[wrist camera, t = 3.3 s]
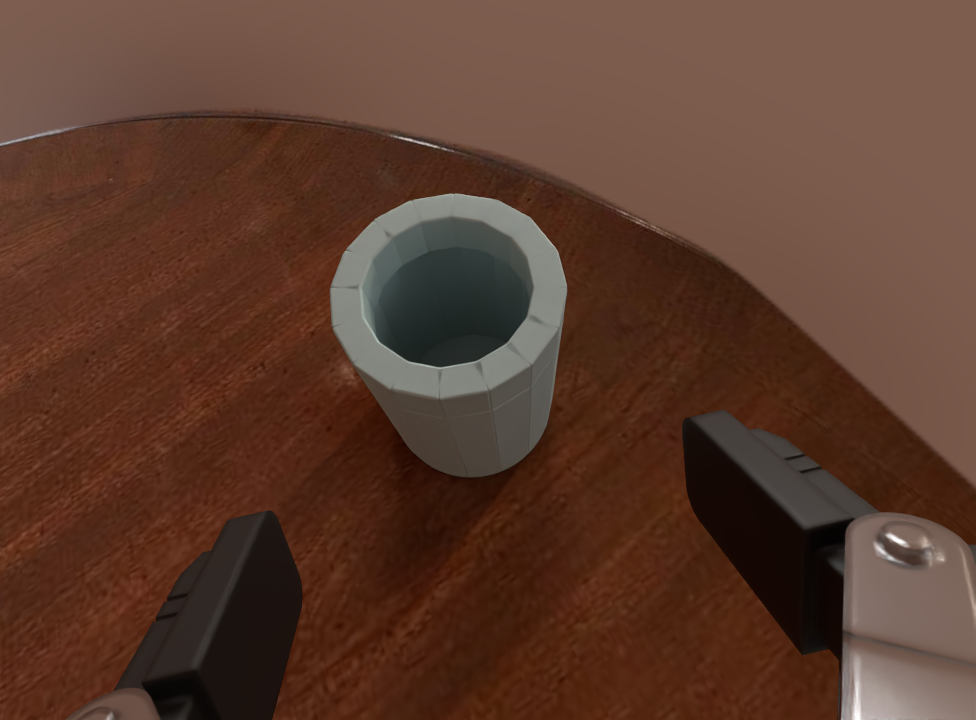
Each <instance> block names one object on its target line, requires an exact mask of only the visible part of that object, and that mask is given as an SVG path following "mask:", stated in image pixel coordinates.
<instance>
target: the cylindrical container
mask: <svg viewBox="0 0 976 720" xmlns="http://www.w3.org/2000/svg"><path fill="white" fill-rule="evenodd" d="M566 295H567V284H566V280H565V276H564V273H563V269H562V265H561V261H560V257H559V254H558V251H557V250H556V248H555V247H554V245H553V244H552V243H551V242H550V241H549V239H548V238H547V237H546V236H545V235H544V233H543V232H542V231H541V230H540V229H539V227H538V226H537V225H536V224H535V223H534V221H533V220H531V218H530V217H528V216H526V215H524V214H523V213H521V212H519V211H517V210H515V209H513V208H511V207H509V206H507V205H506V204H504V203H502V202H500V201H498V200H494V199H489V198H482V197H475V196H468V195H462V194H454V195H453V194H446V195H440V196H435V197H429V198H423V199H417V200H413V201H409V202H407V203H405V204H403V205H401V206H399V207H397V208H395V209H393V210H391V211H389V212H387V213H386V214H384V215H382V216H380V217H378V218H376V219H374V222H371V224H370V225H369V226H368V227H367V228H366V229H365V230H364V231H363V232H362V233H361V234H360V235H359V236H358V237H357V238H356V239H355V240H354V241H353V243H352V244H351V245H350V246H349V247H348V248H347V250H346V251H345V252H344V254H343V256H342V259H341V261H340V264H339V266H338V269H337V271H336V274H335V276H334V279H333V281H332V284H331V289H330V304H331V322H332V328H333V332H334V334H335V335H336V337H337V339H338V341H339V342H340V344H341V346H342V348H343V349H344V351H345V353H346V355H347V356H348V358H349V360H350V362H351V363H352V365H353V366H354V368H355V369H356V371H357V372H358V374H359V375H360V377H361V378H362V380H363V381H364V383H365V384H366V386H367V387H368V388H369V390H370V391H371V393H372V394H373V396H374V397H375V399H376V400H377V402H378V403H379V405H380V406H381V408H382V409H383V411H384V412H385V413H386V415H387V416H388V418H389V419H390V421H391V422H392V424H393V425H394V427H395V428H396V430H397V431H398V433H399V434H400V436H401V437H402V438H403V440H404V441H405V443H406V444H407V446H408V447H409V449H410V450H411V451H412V452H413V453H414V454H416V455H417V456H418V457H419V458H420V459H421V460H422V461H424V462H425V463H426V464H428V465H429V466H431V467H433V468H434V469H437V470H439V471H441V472H443V473H447V474H450V475H453V476H460V477H482V476H488V475H492V474H496V473H498V472H501V471H504V470H506V469H508V468H510V467H511V466H513V465H515V464H516V463H518V462H519V461H521V460H522V459H523V458H524V457H525V456H526V455H527V454H528V453H530V452H531V450H532V449H533V448H534V447H535V445H536V444H537V443H538V441H539V439H540V438H541V436H542V434H543V432H544V430H545V428H546V426H547V422H548V417H549V412H550V407H551V402H552V396H553V388H554V381H555V374H556V367H557V360H558V353H559V345H560V338H561V331H562V324H563V317H564V309H565V302H566Z"/></svg>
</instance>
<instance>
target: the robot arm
mask: <svg viewBox="0 0 976 720" xmlns="http://www.w3.org/2000/svg"><path fill="white" fill-rule="evenodd" d="M682 434H683V448H684V461H685V475H686V487H687V493H688V497H689V500H690V503H691V506H692V508H693V511H694V513H695V514H696V516H697V518H698V519H699V521H700V522H701V523H702V525H703V526H704V527H705V528H706V530H707V531H708V532H709V534H710V535H711V536H712V538H713V539H714V540H715V542H716V543H717V544H718V546H719V547H720V548H721V549H722V551H723V552H724V553H725V555H726V556H727V557H728V559H729V560H730V561H731V563H732V564H733V565H734V566H735V568H736V569H737V570H738V572H739V573H740V574H741V576H742V577H743V578H744V580H745V581H746V582H747V584H748V585H749V586H750V587H751V589H752V590H753V591H754V593H755V594H756V595H757V597H758V598H759V599H760V601H761V602H762V603H763V604H764V606H765V607H766V608H767V610H768V611H769V612H770V614H771V615H772V616H773V618H774V619H775V620H776V622H777V623H778V624H779V625H780V627H781V628H782V629H783V631H784V632H785V633H786V635H787V636H788V637H789V639H790V640H791V641H792V642H793V644H794V645H795V646H796V648H797V649H798V650H799V652H800V653H801V654H802V655H806V654H810V653H814V652H818V651H822V650H826V649H830V650H831V651H832V653H833V654H834V655H835V656H836V657H837V659H838V660H839V682H838V712H837V720H976V545H967V544H966V543H965V542H964V541H963V540H962V539H961V538H960V537H959V536H957V535H956V534H955V533H953V532H952V531H950V530H948V529H947V528H945V527H943V526H941V525H939V524H937V523H935V522H932V521H929V520H927V519H924V518H920V517H916V516H912V515H907V514H901V513H880V512H879V511H878V510H876V509H875V508H874V507H872V506H871V505H870V504H869V503H867V502H866V501H865V500H863V499H862V498H861V497H860V496H858V495H857V494H856V493H854V492H853V491H852V490H851V489H849V488H848V487H847V486H845V485H844V484H843V483H842V482H840V481H839V480H838V479H836V478H835V477H834V476H833V475H831V474H830V473H829V472H827V471H826V470H822V469H821V466H820V465H818V464H817V463H816V462H814V461H813V460H812V459H811V458H809V457H805V454H804V453H803V452H802V451H800V450H799V449H798V448H796V447H795V446H794V445H793V444H791V443H790V442H789V441H787V440H786V439H785V438H782V437H779V436H777V435H774V434H772V433H769V432H766V431H764V430H761V429H759V428H758V429H753V430H749V429H748V428H746V427H745V426H744V425H743V424H742V423H740V422H739V421H738V420H737V419H736V418H734V417H733V416H732V415H731V414H730V413H728V412H727V411H725V410H720V411H715V412H711V413H706V414H702V415H698V416H693V417H689V418H685V419H684V421H683V425H682ZM301 608H302V585H301V579H300V575H299V573H298V570H297V567H296V565H295V562H294V559H293V557H292V554H291V552H290V549H289V547H288V544H287V541H286V539H285V536H284V534H283V531H282V528H281V526H280V523H279V521H278V518H277V517H276V515H275V514H274V513H273V512H272V511H270V510H268V511H264V512H259V513H255V514H250V515H246V516H241V517H237V518H232V519H229V520H228V521H227V522H226V524H225V525H224V527H223V529H222V531H221V533H220V535H219V536H218V538H217V540H216V542H215V544H214V546H213V548H212V550H211V551H207V552H203V553H202V554H201V555H200V556H199V557H198V558H197V559H196V560H195V561H194V562H193V563H192V564H191V565H190V566H189V567H188V568H187V569H186V570H185V571H184V572H182V573H181V574H180V576H179V578H178V580H177V581H176V583H175V585H174V586H173V588H172V590H171V592H170V593H169V595H168V597H167V602H164V604H163V606H162V607H161V609H160V611H159V613H158V614H157V616H156V622H153V623H152V625H151V626H150V628H149V630H148V632H147V633H146V635H145V637H144V639H143V640H142V642H141V644H140V646H139V647H138V649H137V651H136V653H135V654H134V656H133V658H132V660H131V661H130V663H129V665H128V666H127V668H126V670H125V672H124V673H123V675H122V677H121V679H120V680H119V682H118V684H117V686H116V687H115V689H114V691H112V692H110V693H107V694H104V695H102V696H100V697H98V698H96V699H94V700H92V701H91V702H89V703H87V704H86V705H84V706H83V707H81V708H80V709H78V710H77V711H75V712H74V713H73V714H72V715H70V716H69V717H68V718H67V719H65V720H272V718H273V714H274V710H275V707H276V703H277V699H278V695H279V692H280V688H281V684H282V680H283V676H284V673H285V669H286V665H287V661H288V658H289V654H290V650H291V646H292V642H293V639H294V635H295V631H296V627H297V623H298V620H299V616H300V612H301Z"/></svg>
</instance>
